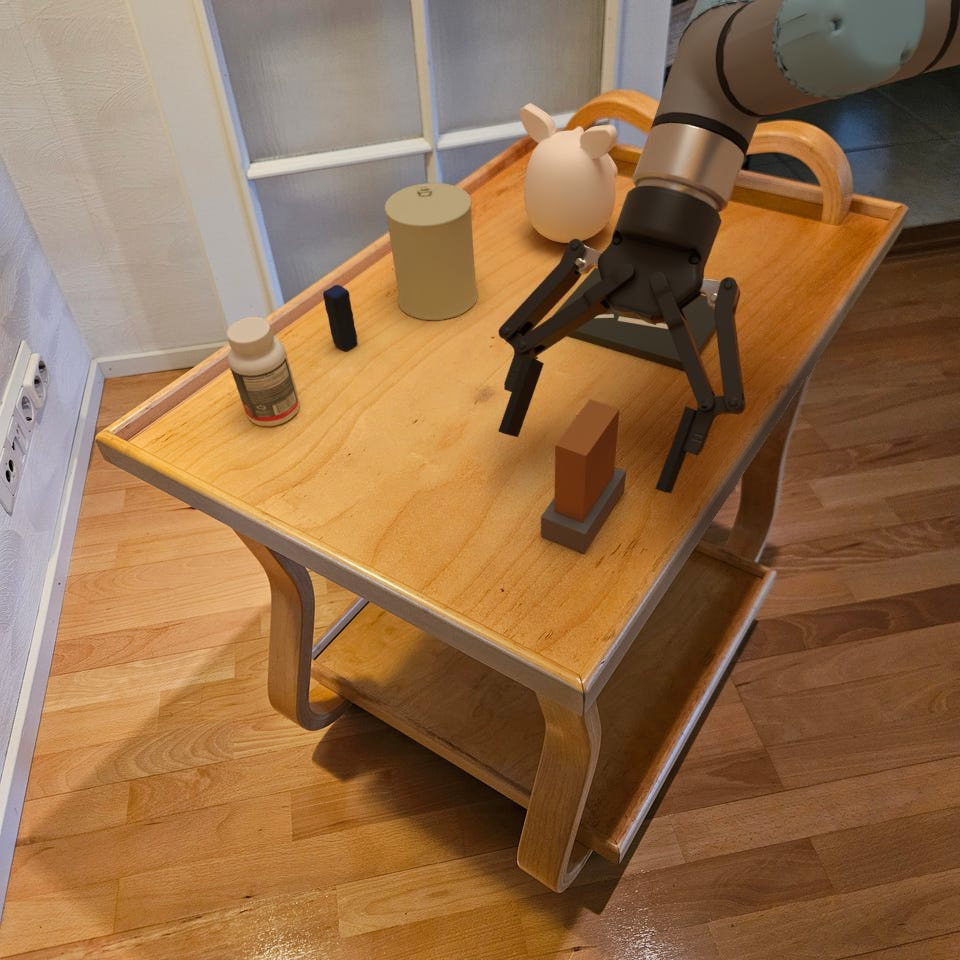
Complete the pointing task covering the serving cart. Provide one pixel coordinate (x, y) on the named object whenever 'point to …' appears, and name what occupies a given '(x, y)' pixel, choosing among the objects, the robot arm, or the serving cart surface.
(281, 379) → the pill bottle
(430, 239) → the can
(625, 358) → the serving cart surface
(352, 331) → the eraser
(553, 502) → the chalk eraser
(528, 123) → the piggy bank
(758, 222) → the serving cart surface
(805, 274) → the serving cart surface
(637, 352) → the slate board
